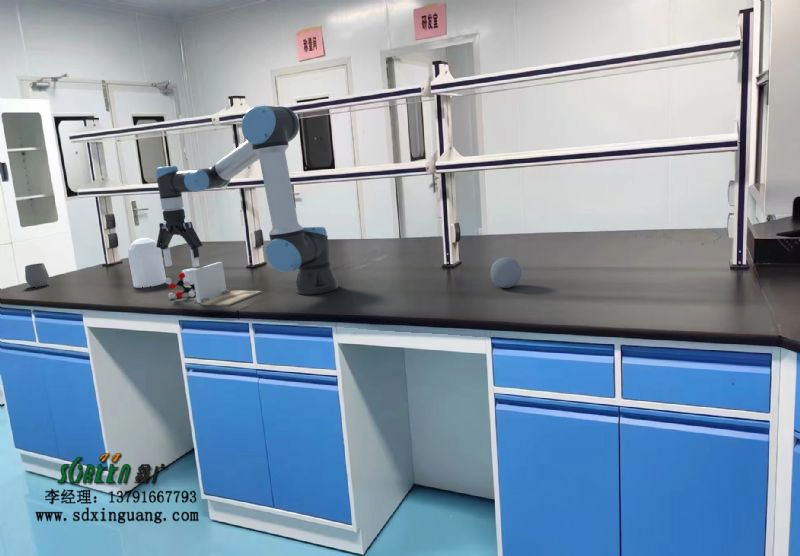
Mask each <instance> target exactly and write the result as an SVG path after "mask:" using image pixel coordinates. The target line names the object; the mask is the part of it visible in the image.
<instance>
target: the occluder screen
mask: <svg viewBox="0 0 800 556" xmlns="http://www.w3.org/2000/svg"><path fill="white" fill-rule="evenodd" d="M197 268H198V269H194V270H192V274H193V280H194V286H195V292H196V293H195V298H194V299H193V302H194V303H197V304H200V303H202V302H204V301H207V300H210V299H212V298H215V297H218V296H220V295H223V294H226V293H228V292H231V291H230V290H228V289H227V285H226V284H227V283H226V278H225V270H224V265H223V261H217V262H214V263H211V264H208V265H205V266H202V267H197Z"/></svg>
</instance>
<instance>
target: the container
mask: <svg viewBox="0 0 800 556" xmlns="http://www.w3.org/2000/svg"><path fill="white" fill-rule="evenodd" d="M156 245H157V241H156V240H154V239H152V238H150V237H140V238H137V239H135V240H134V241H133V242H131V244H130V246H129V248H128V252H127V253H128V254H127V259H128V263H129V268H130V273H131V278H132V284H133V287H134V288H140V289H141V288H142V287H143V288H149V287H150V286H151V287H155V286H160V285H164V284H166V283H165V279H166V278H167V277H166V271H165V263H164V258H163V255H162V249H161V248H157V246H156Z"/></svg>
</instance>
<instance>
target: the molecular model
mask: <svg viewBox="0 0 800 556" xmlns="http://www.w3.org/2000/svg"><path fill="white" fill-rule="evenodd" d="M178 277H179V279H180V280H177V283H175V284H174V283H172V282H173V281H172V278H170V277H166V279H165V283H164V284H167V285H168V288H169V289H170V290H174V289H175V288H176V287H177V286H179V287H182V289H183V291H177V292H176V293H173V292H169V293H168V294H167V296H168V299H170V300H171V299H174V298H175V297H176V298H179V299H181V298H182V297H183V294H185V293H186V294H188V297H189V298H194V297H196V292H195V286H194V284H193V285H191V284H190V282H189V281H188V280H185V281H184V280H183V278H185V274H184V273H182V272H180V273H178ZM184 285H185V286H188V285H189V286H191V287H190V288H189V287H185V286H184ZM190 290H191V291H190Z"/></svg>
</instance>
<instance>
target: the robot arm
mask: <svg viewBox="0 0 800 556" xmlns="http://www.w3.org/2000/svg"><path fill="white" fill-rule="evenodd" d="M299 130H300V122H299V118H298V115H297V114H296V113H295V112H294V111H293V110H292V109H290V108H289V107H286V106H282V105H281V106H280V105H279V106H276V105H275V106H274V105H259V106H258V105H257V106H253V107H251V108H249V109H248V110H247V111H246V112H245V114H244V115H243V117H242V120H241V133H242V135H243V137H244V139H245V140H246V141H245V142H243V143H241V144H240V145H239V146H238V147H236V148H235V149H234V150H232V151H230V153H228V154H226V155H225V156H224V157H223V158H221V159H220V160H219V161H217V162H216V163H215V164H213V165H212V166H210V167H208V168H199V169H190V170H180V171H179V169H178V166H177V165H171V166H170V165H169V166H159V167H157V168H156V169H155V175H156V176H155V177H156V183H157V187H158V191H159V192H158V193H159V200H160V206H161V209H162V210H163V211H162V218H163V221H164V222H159V230H158V236H157V241H156V242H157V245H156V246H157V248H161V253H162V259H163V262H164V268H165V267H167V268H169V267H172V266H173V261H172V256H171V255H172V254H171V248H169V246H170V243H171V240H172V238H173V236H175V235H176V236H179V237H182V238H183V240H184V241H185V242H186V243H187V245H188V246H189V248H190V249H189V251H190V257H191V258H190V259H191V263H192V264H191V265H192V268H198V267H200V260H199V258H200V251H199V248H201V247H203V243H202V242H201V240H200V238H199V235H198V234H197V232H196V230H195V229H194V226H193V223H192V221H187V222H185V219H186V213H185V209H184V199H183V195H182V193H198V192H202V191H203V192H204V191H206V190H212V189H213V190H214V189H221V188H224V187H226V186H228V185H230V182H231V179H233V178H234V177H235V176H238V174H240V173H242V172H243V171H245V169H247V168H248V167H250V166H251V165H253V164H254V163H255V162H256V163H257V161H259V164H260V169H261V176H262V181H263V185H264V191H265V195H266V201H267V205H268V211H269V215H270V222H271V227H272V228H271V230H270V231H269V232H268V236H269V243H268V244H267V246H266V248H265V256H266V257H265V258H266V260H267V261H268V263H269V265H270V266H271V267H272V268H273V269H275V270H277V271H278V272H281V273H288V272H295V271H296V270H297V271H298V272H297V276H296V277H297V278H296V282H295V293H297V294H298V295H303V296H305V295H320V294H325V293H329V292H332V291H333V292H334V291H335V290H337V289H338V288H339V284H338V280H337V278H336V276H335V275H336V274H335V273H334V272H333V269H332V266H331V259H330V249H329V240H328V238H329V237H328V233H327V230H326V228H325V227H324V226H308V227H307V226H306V227H303V226H302V225H300V224H299V221H298V215H297V211H296V204H295V199H294V194H293V189H292V181H291V177H290V172H289V166H288V160H287V156H286V155H287V154H286V150H288V148H289V143H290V142H291V141H292V140H293V139H295V138H296V136H297V135H298V134H299Z"/></svg>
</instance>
